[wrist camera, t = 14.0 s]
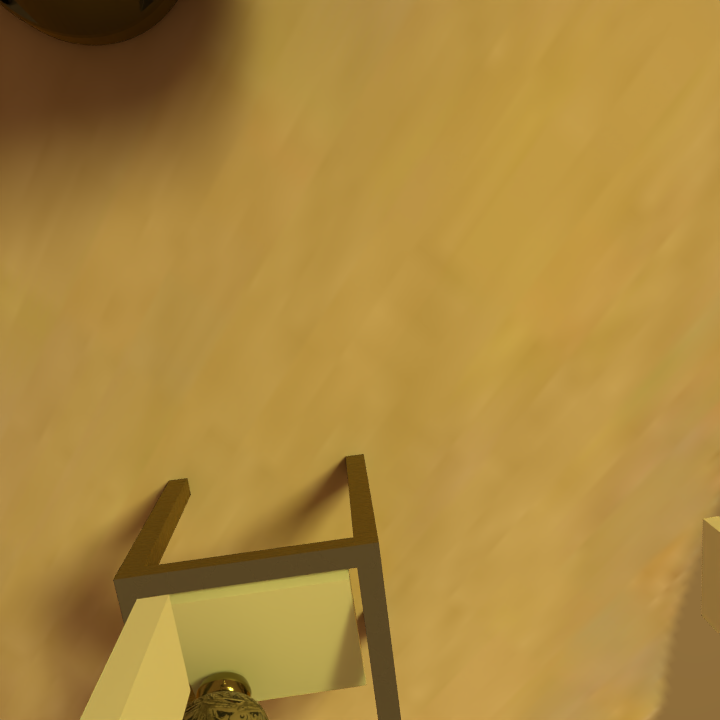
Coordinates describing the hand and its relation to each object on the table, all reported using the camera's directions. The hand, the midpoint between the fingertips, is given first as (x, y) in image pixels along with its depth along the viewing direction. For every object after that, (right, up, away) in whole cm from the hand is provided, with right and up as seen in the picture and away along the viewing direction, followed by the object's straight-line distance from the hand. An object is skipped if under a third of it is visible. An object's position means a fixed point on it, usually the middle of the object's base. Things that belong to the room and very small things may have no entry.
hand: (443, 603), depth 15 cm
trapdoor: (-8, -13, +27) cm, 31 cm away
